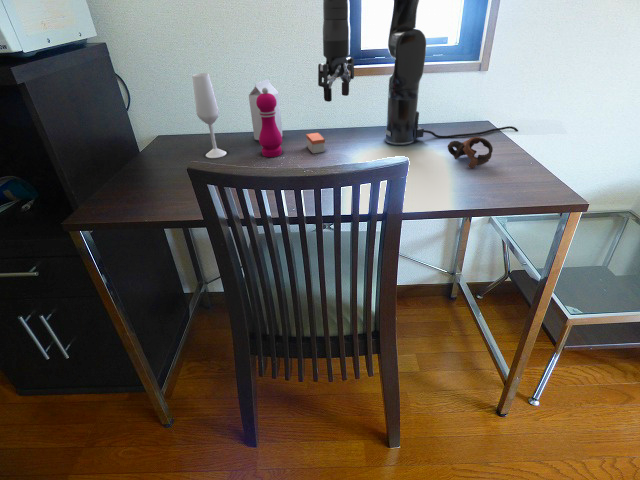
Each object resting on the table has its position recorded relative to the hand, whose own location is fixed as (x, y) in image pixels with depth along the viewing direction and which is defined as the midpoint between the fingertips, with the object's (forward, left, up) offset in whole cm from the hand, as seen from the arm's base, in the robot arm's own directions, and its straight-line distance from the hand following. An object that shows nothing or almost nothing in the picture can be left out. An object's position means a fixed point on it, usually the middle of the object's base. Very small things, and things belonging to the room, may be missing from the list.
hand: (336, 98), depth 116 cm
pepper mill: (+21, -4, -16) cm, 26 cm away
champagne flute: (+38, -11, -16) cm, 42 cm away
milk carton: (+19, -19, -16) cm, 31 cm away
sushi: (+7, -2, -16) cm, 17 cm away
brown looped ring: (-30, +26, -16) cm, 43 cm away
